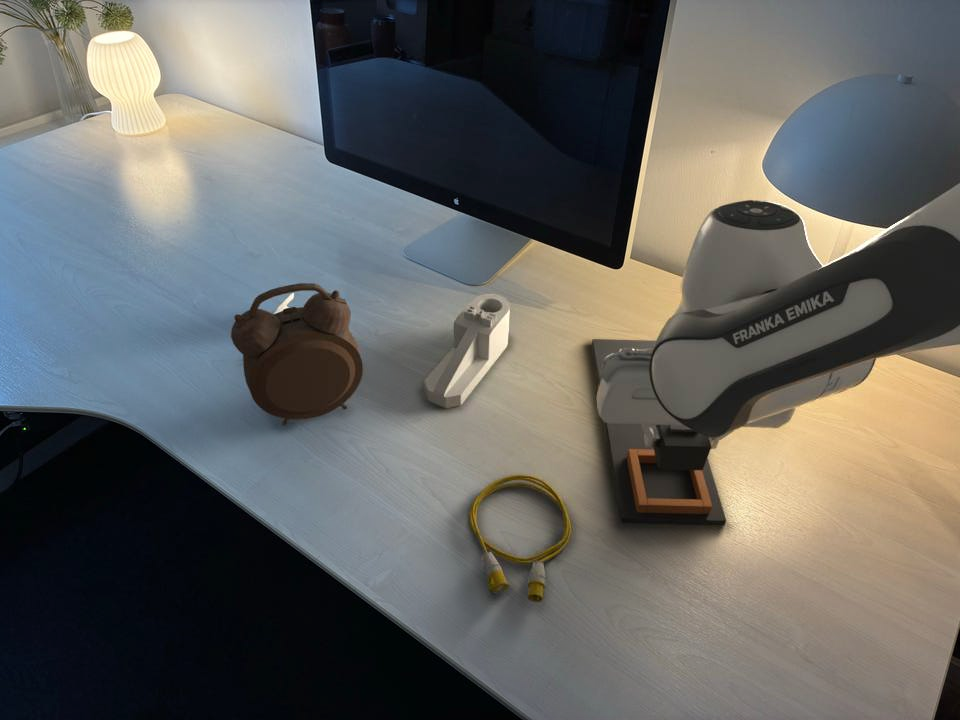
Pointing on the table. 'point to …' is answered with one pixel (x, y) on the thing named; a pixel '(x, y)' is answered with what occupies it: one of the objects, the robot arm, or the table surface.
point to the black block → (681, 448)
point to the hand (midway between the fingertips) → (679, 443)
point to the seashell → (284, 304)
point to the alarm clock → (299, 354)
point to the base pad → (654, 470)
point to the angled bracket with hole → (470, 350)
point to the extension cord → (493, 567)
